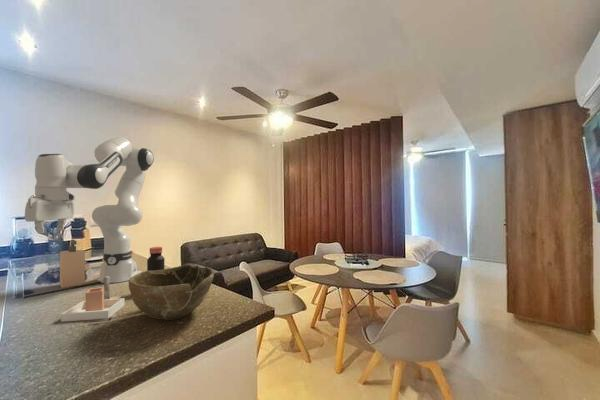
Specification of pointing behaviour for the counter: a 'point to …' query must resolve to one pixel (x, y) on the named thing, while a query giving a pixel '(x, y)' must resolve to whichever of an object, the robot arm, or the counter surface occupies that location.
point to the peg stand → (106, 289)
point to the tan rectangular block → (72, 266)
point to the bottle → (155, 259)
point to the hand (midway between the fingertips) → (51, 232)
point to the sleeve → (95, 299)
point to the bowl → (170, 290)
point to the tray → (81, 314)
